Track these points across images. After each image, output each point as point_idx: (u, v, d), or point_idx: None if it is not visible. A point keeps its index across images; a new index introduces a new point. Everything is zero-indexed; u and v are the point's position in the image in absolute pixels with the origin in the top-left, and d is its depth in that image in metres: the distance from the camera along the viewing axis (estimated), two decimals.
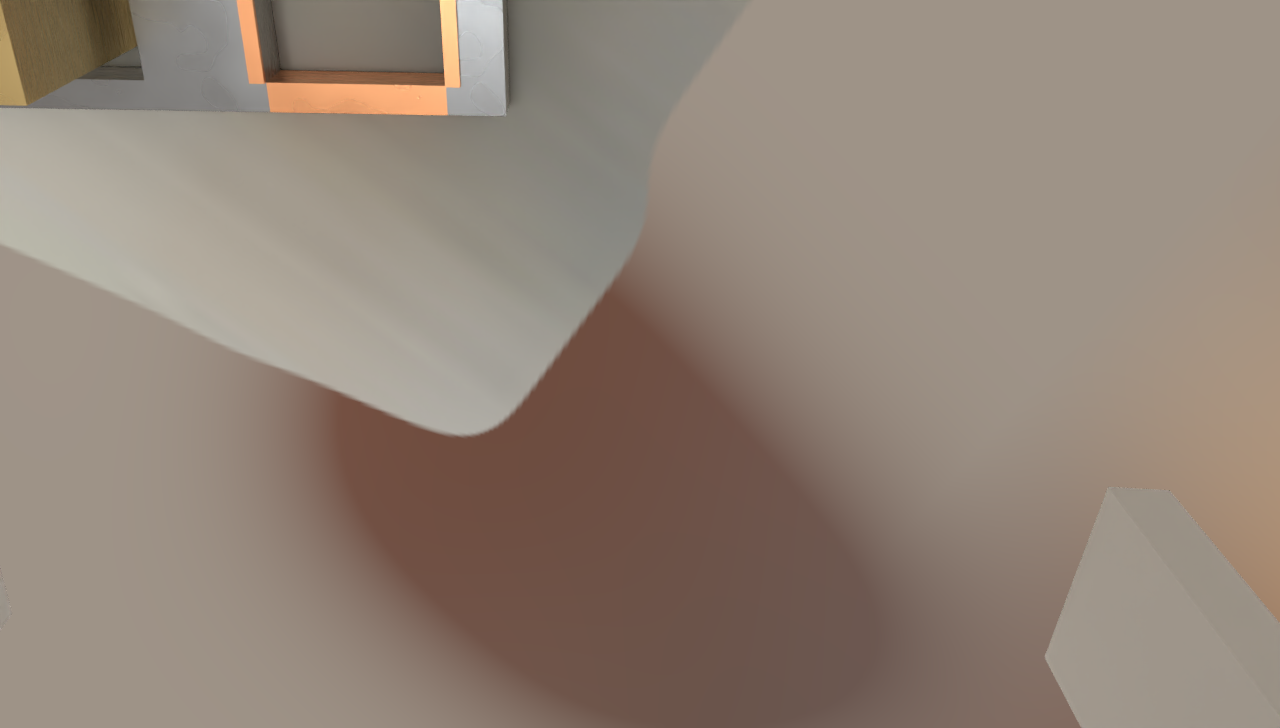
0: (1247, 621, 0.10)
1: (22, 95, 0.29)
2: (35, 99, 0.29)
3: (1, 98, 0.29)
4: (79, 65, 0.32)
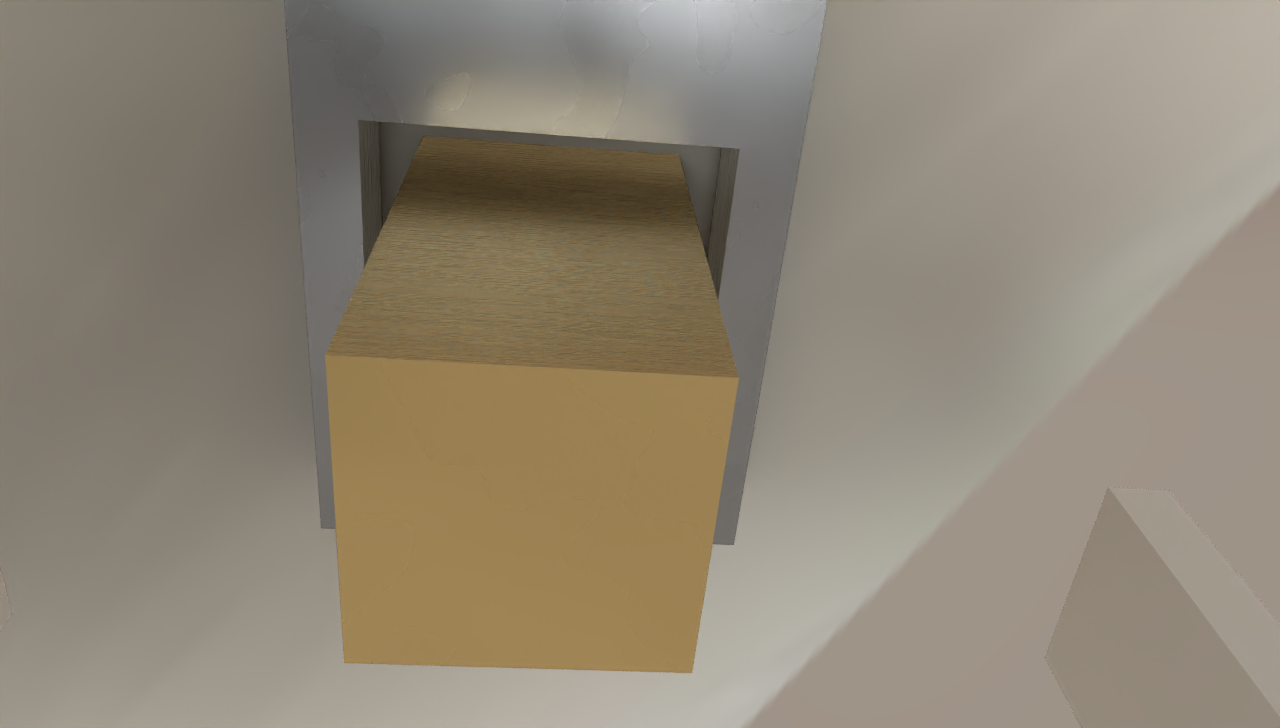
0: (1247, 621, 0.10)
1: (713, 380, 0.12)
2: (729, 355, 0.12)
3: (714, 426, 0.12)
4: (683, 252, 0.15)
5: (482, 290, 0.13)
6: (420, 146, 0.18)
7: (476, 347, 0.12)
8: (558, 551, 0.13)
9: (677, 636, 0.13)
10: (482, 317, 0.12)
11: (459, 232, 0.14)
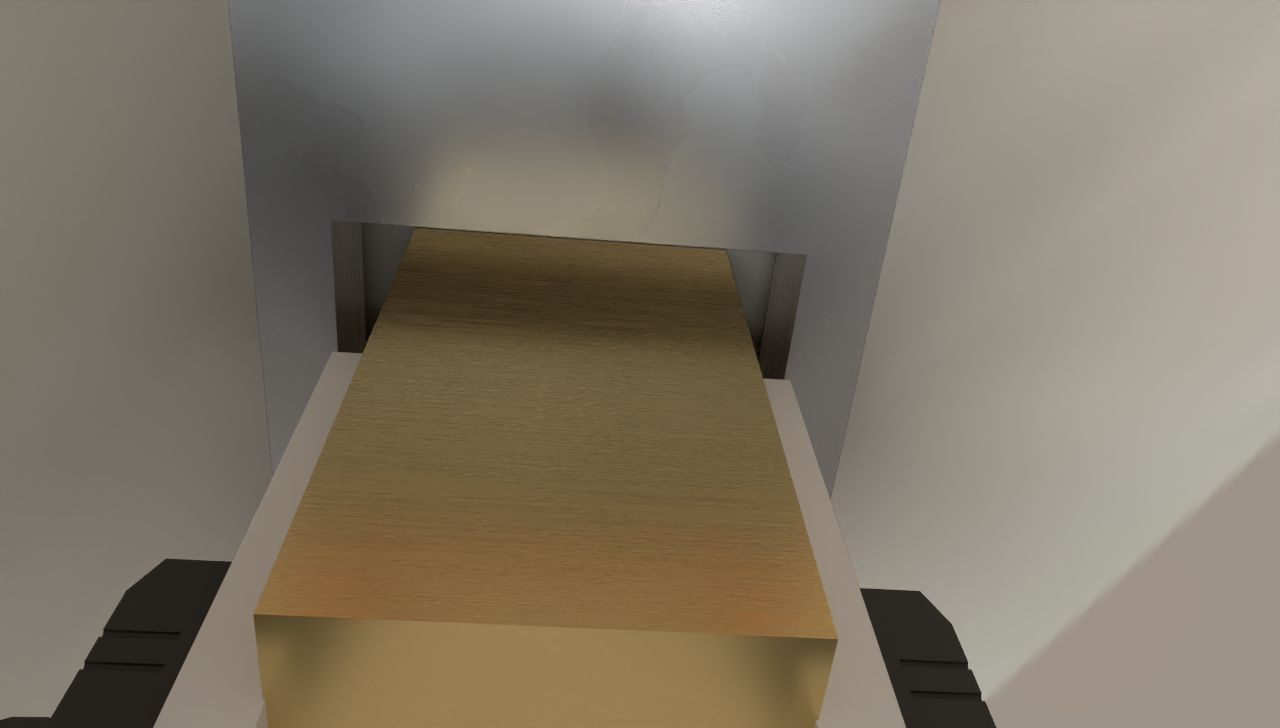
0: (793, 475, 0.12)
1: (802, 640, 0.08)
2: (820, 594, 0.09)
3: (801, 698, 0.08)
4: (743, 406, 0.11)
5: (480, 483, 0.10)
6: (410, 243, 0.14)
7: (467, 592, 0.08)
8: None
9: None
10: (478, 531, 0.09)
11: (452, 380, 0.11)
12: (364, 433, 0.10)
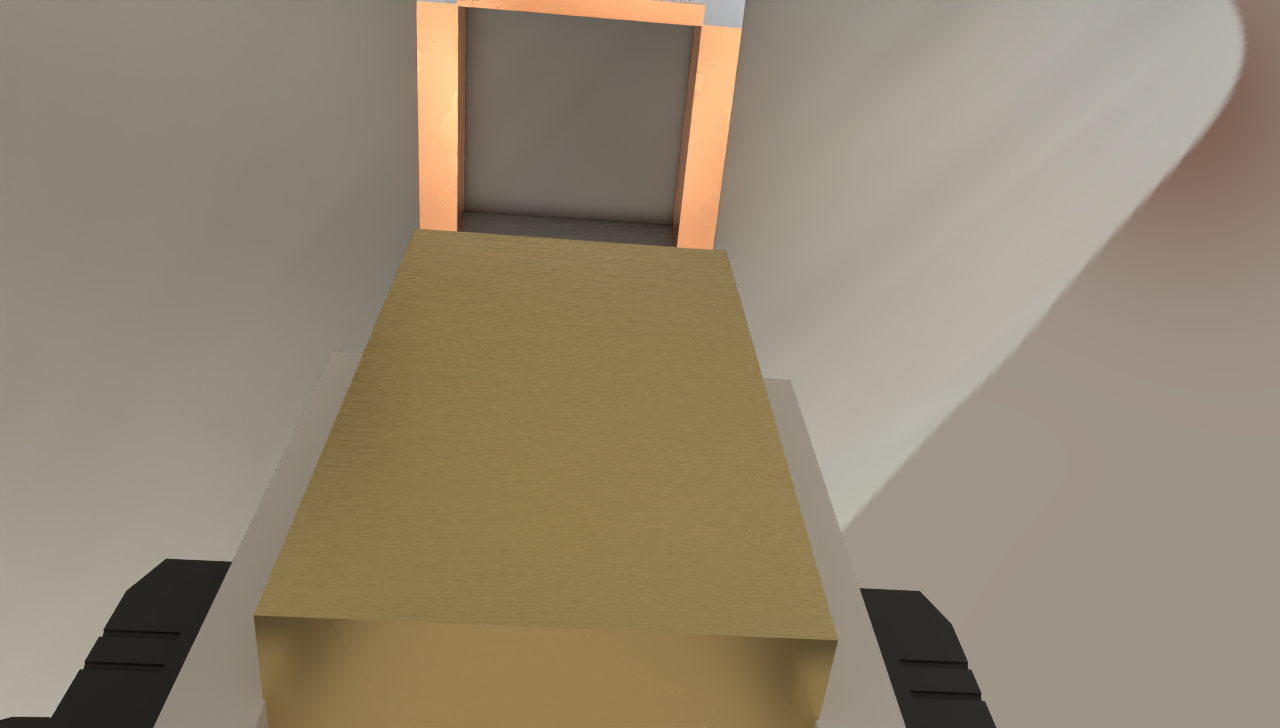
0: (793, 475, 0.12)
1: (802, 641, 0.08)
2: (820, 596, 0.09)
3: (801, 699, 0.08)
4: (743, 407, 0.11)
5: (480, 484, 0.10)
6: (410, 244, 0.14)
7: (467, 593, 0.08)
8: None
9: None
10: (478, 532, 0.09)
11: (452, 381, 0.11)
12: (364, 434, 0.10)
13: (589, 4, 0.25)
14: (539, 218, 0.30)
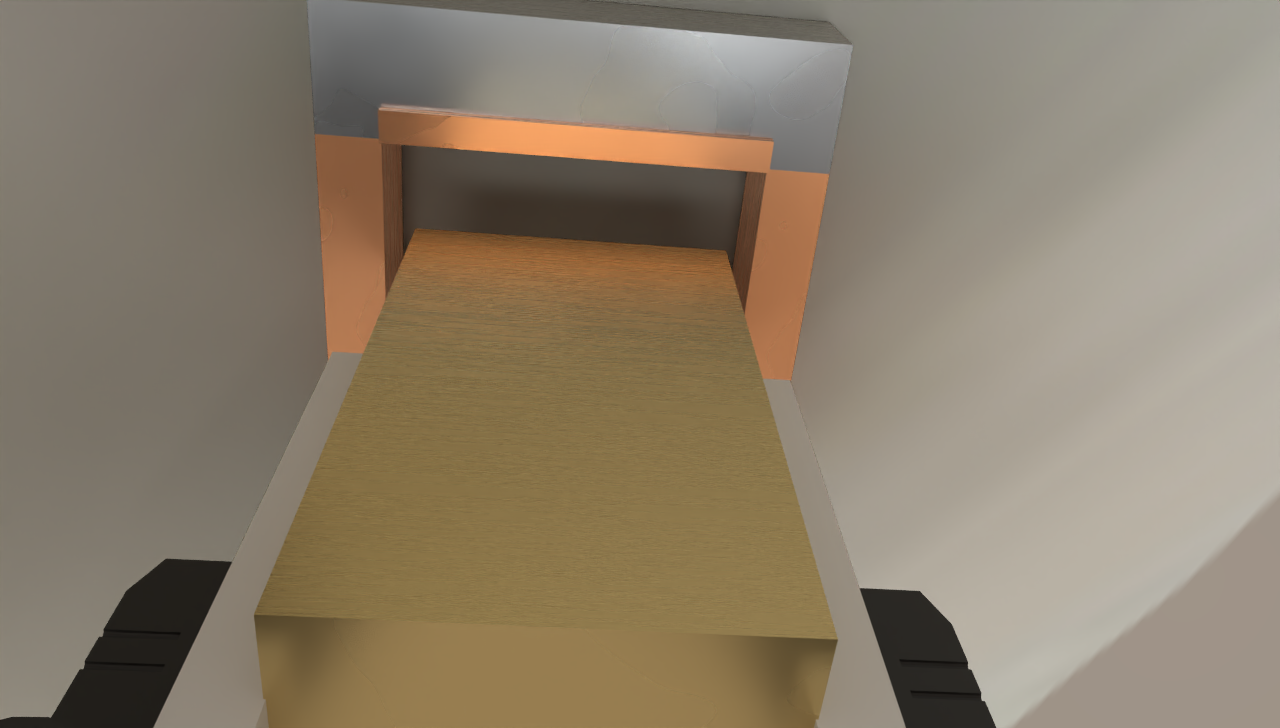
0: (793, 475, 0.12)
1: (801, 640, 0.08)
2: (820, 595, 0.09)
3: (801, 698, 0.08)
4: (743, 407, 0.11)
5: (480, 483, 0.10)
6: (411, 244, 0.14)
7: (468, 592, 0.08)
8: None
9: None
10: (480, 530, 0.09)
11: (452, 380, 0.11)
12: (364, 433, 0.10)
13: (590, 140, 0.16)
14: None
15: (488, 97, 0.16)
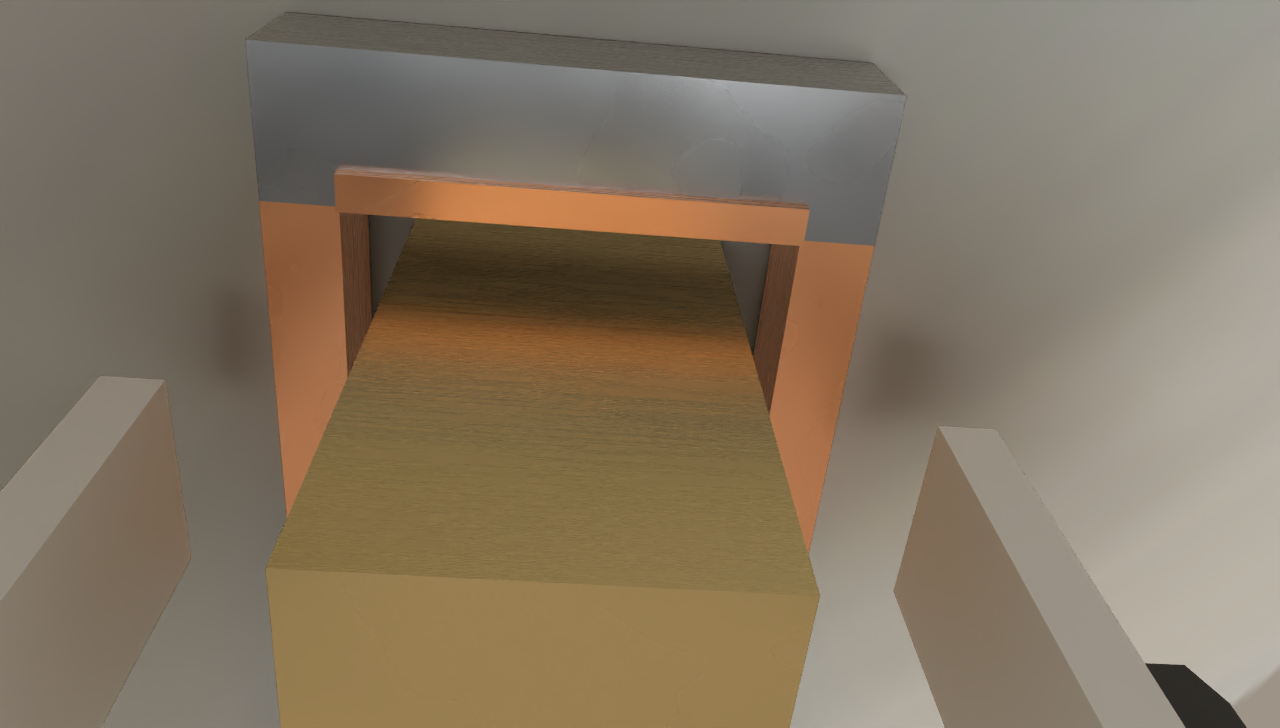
0: (1036, 538, 0.11)
1: (785, 597, 0.09)
2: (804, 556, 0.09)
3: (785, 653, 0.09)
4: (733, 384, 0.12)
5: (481, 452, 0.10)
6: (413, 229, 0.15)
7: (468, 550, 0.09)
8: None
9: None
10: (479, 494, 0.09)
11: (453, 357, 0.12)
12: (369, 405, 0.10)
13: (589, 209, 0.13)
14: None
15: (467, 158, 0.13)
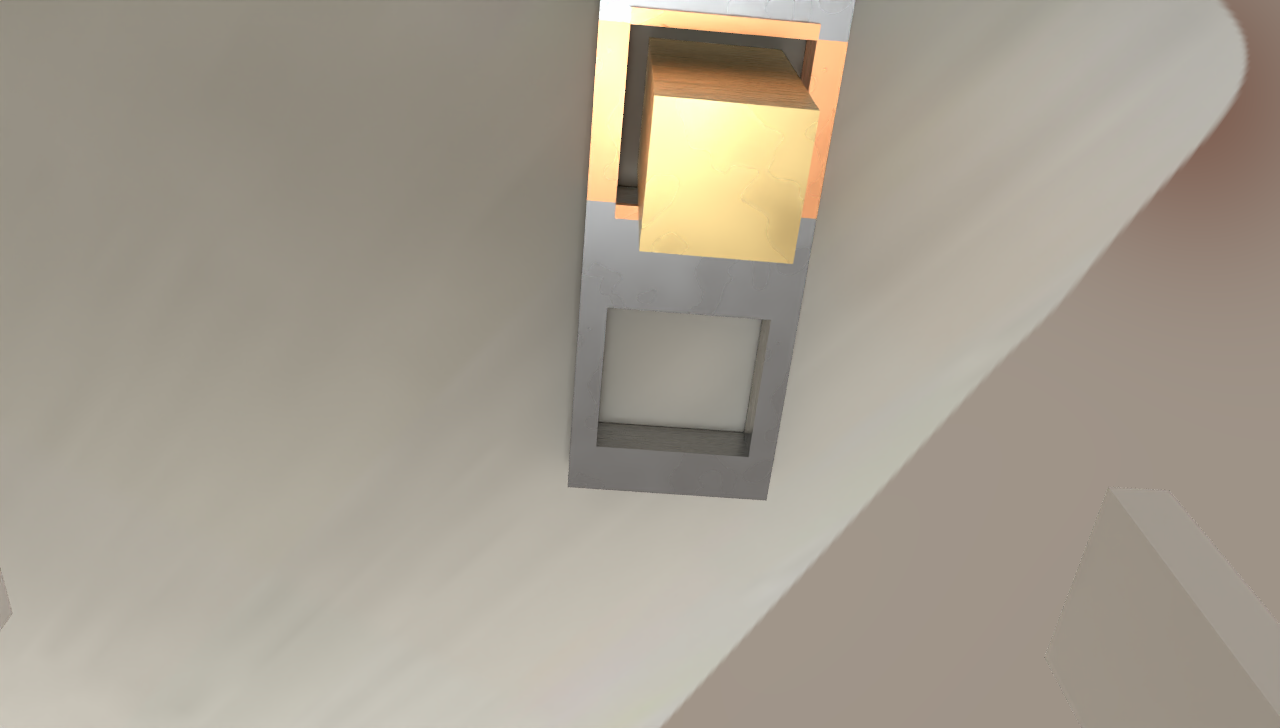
0: (1247, 621, 0.10)
1: (809, 112, 0.28)
2: (815, 105, 0.28)
3: (809, 133, 0.28)
4: (790, 79, 0.31)
5: (706, 84, 0.29)
6: (650, 41, 0.34)
7: (711, 97, 0.28)
8: (738, 194, 0.29)
9: (787, 242, 0.30)
10: (709, 90, 0.29)
11: (686, 68, 0.31)
12: (664, 74, 0.30)
13: (731, 23, 0.33)
14: None
15: (683, 1, 0.32)
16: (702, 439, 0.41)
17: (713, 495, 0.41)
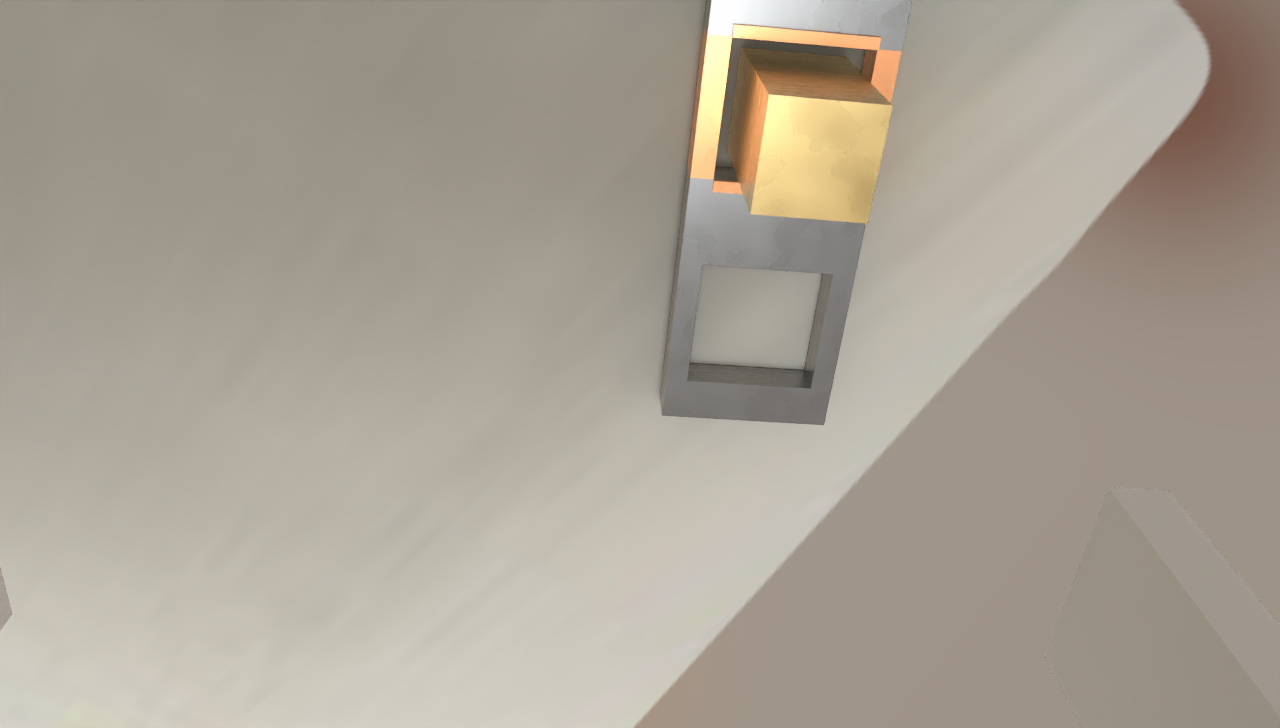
0: (1247, 621, 0.10)
1: (884, 106, 0.37)
2: (888, 101, 0.37)
3: (884, 122, 0.37)
4: (861, 81, 0.40)
5: (802, 85, 0.38)
6: (743, 50, 0.43)
7: (810, 95, 0.37)
8: (828, 169, 0.38)
9: (863, 206, 0.39)
10: (807, 90, 0.38)
11: (781, 72, 0.40)
12: (767, 78, 0.39)
13: (811, 36, 0.42)
14: None
15: (774, 20, 0.41)
16: (771, 375, 0.50)
17: (780, 421, 0.51)
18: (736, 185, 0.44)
